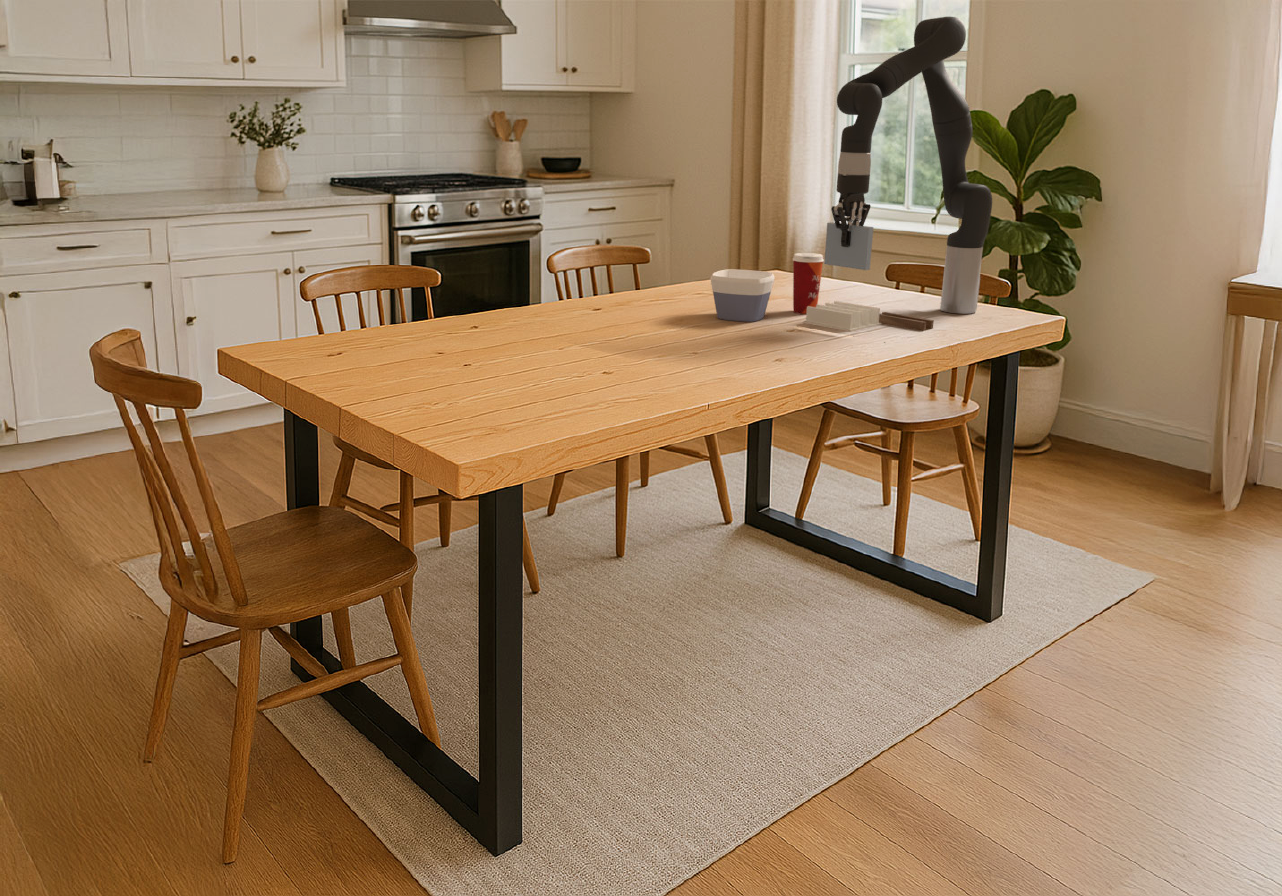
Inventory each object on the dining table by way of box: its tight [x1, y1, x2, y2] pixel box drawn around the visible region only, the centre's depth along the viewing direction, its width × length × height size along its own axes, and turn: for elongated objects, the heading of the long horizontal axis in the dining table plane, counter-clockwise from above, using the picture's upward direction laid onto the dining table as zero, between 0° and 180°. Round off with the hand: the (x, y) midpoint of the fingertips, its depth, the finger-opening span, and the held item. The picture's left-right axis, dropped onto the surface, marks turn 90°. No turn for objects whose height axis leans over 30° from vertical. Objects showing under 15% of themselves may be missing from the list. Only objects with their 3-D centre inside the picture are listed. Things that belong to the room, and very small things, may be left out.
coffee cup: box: [791, 252, 825, 315], centre depth 284 cm, size 8×8×15 cm
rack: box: [802, 300, 882, 332], centre depth 267 cm, size 13×14×5 cm
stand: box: [879, 311, 935, 332], centre depth 267 cm, size 5×14×3 cm, turn 45°
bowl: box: [709, 268, 776, 323], centre depth 275 cm, size 15×15×11 cm
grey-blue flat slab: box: [823, 221, 874, 271], centre depth 262 cm, size 2×12×10 cm, turn 45°
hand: (848, 246), depth 262 cm, fingers closed on grey-blue flat slab, 1 cm apart
